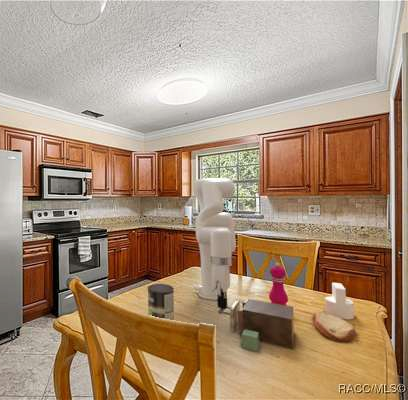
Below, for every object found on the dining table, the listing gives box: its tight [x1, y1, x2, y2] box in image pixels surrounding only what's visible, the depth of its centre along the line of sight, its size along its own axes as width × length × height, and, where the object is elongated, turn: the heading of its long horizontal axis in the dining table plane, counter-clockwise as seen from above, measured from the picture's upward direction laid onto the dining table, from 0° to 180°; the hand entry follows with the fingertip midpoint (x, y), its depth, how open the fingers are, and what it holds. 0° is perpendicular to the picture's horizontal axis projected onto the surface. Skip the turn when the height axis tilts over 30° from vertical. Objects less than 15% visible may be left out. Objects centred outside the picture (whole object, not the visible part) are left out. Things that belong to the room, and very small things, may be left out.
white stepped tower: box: [324, 282, 355, 320], centre depth 113 cm, size 9×9×12 cm
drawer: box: [217, 299, 247, 332], centre depth 102 cm, size 18×11×8 cm, turn 54°
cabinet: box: [242, 298, 295, 350], centre depth 97 cm, size 15×13×10 cm
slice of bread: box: [313, 310, 357, 343], centre depth 101 cm, size 18×18×4 cm
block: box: [241, 329, 260, 352], centre depth 90 cm, size 4×4×4 cm
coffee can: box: [147, 283, 175, 321], centre depth 109 cm, size 10×10×14 cm
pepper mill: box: [268, 262, 289, 306], centre depth 121 cm, size 7×7×20 cm
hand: (222, 307), depth 106 cm, fingers closed
